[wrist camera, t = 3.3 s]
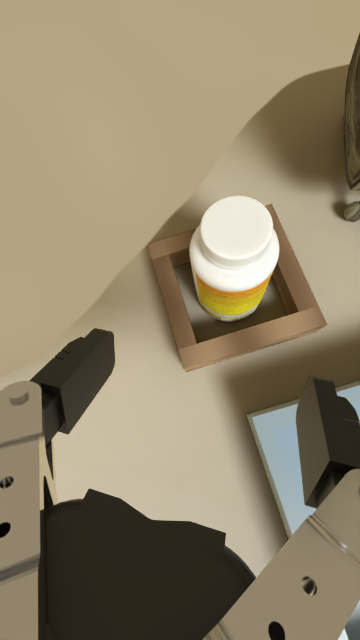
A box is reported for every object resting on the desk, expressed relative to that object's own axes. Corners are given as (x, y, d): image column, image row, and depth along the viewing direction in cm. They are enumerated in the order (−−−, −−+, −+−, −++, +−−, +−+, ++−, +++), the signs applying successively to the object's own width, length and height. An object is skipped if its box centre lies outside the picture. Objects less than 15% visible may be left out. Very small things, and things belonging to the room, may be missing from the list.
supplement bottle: (270, 313, 25) (305, 255, 15) (207, 331, 25) (200, 286, 15) (249, 256, 26) (268, 170, 16) (190, 273, 26) (174, 199, 17)
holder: (266, 221, 27) (271, 203, 25) (315, 332, 24) (326, 324, 21) (153, 258, 27) (147, 244, 25) (186, 371, 24) (183, 368, 22)
